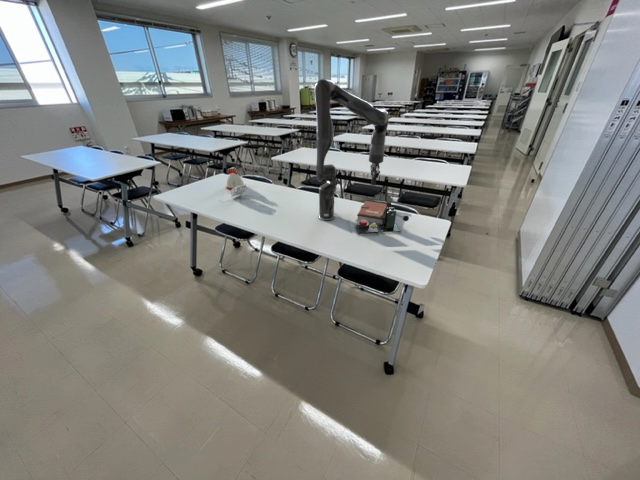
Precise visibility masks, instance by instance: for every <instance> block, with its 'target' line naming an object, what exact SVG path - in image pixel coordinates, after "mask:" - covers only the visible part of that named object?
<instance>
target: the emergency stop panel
mask: <svg viewBox="0 0 640 480" xmlns="http://www.w3.org/2000/svg"><path fill="white" fill-rule="evenodd" d="M371 224H372V223H370V222H369V221H367V224H366V225H361V224H360V220H358V221H357V222H356V224H355V227H356V230H357V232H358V235H366V234H367V235H368V234H379V229H378V227H377V228H371V227H370V225H371Z"/></svg>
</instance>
